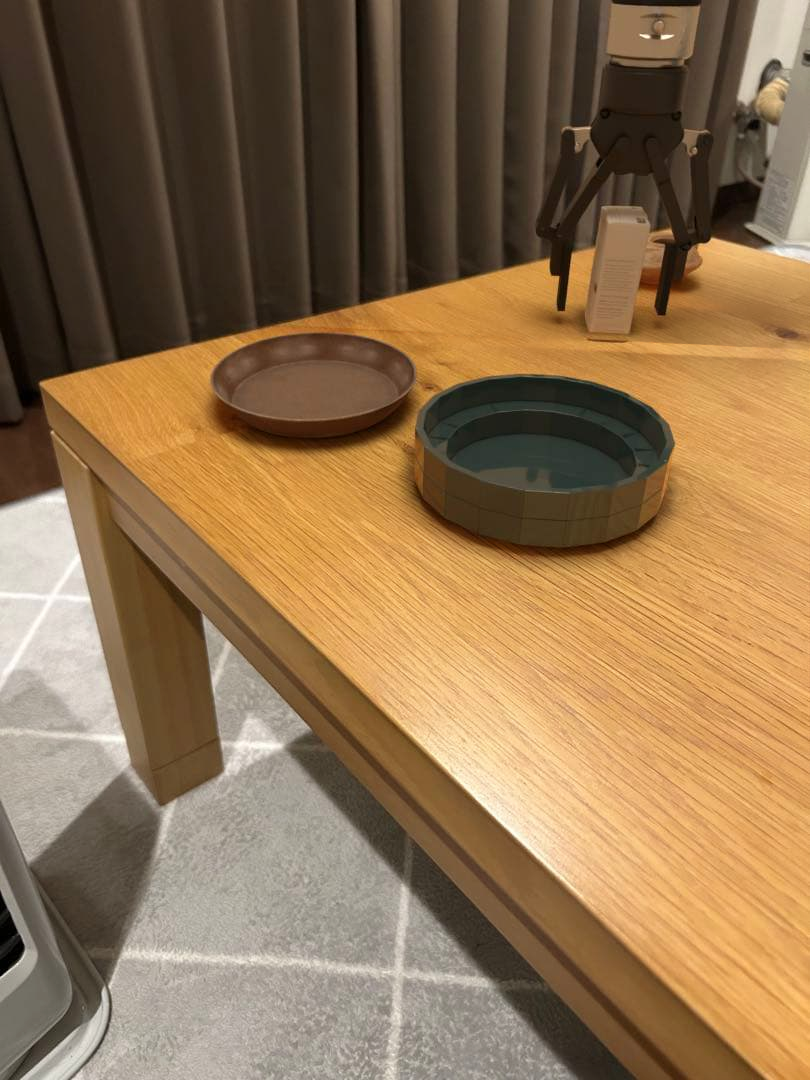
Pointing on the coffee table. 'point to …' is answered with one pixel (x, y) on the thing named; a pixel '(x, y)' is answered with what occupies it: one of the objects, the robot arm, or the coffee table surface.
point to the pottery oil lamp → (655, 257)
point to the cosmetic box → (616, 270)
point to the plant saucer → (314, 383)
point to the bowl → (542, 459)
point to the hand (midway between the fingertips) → (609, 308)
